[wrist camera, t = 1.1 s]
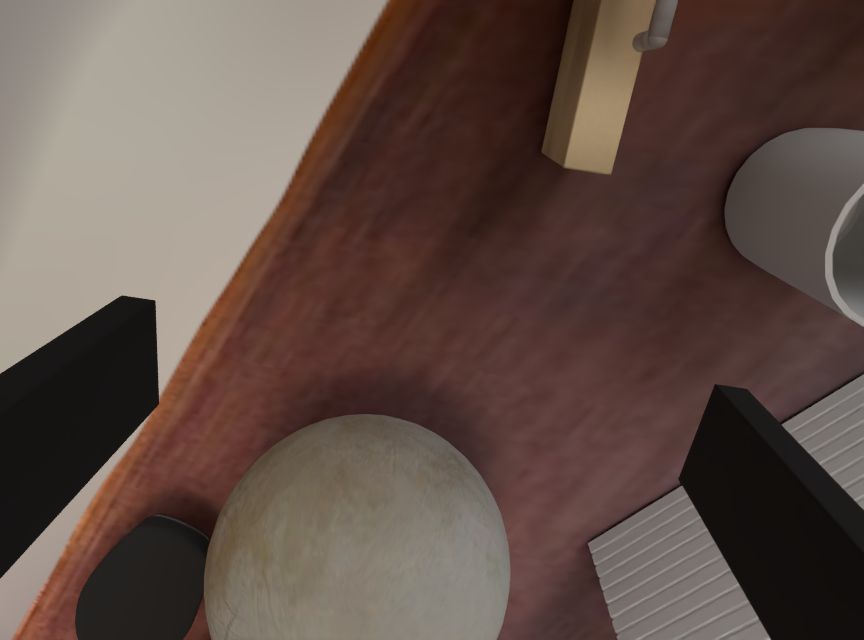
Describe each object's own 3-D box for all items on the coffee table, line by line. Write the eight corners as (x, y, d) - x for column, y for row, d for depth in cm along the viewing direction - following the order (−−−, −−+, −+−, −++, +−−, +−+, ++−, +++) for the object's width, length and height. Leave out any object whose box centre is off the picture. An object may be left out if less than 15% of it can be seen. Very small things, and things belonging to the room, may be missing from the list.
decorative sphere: (419, 596, 40) (403, 865, 26) (222, 501, 38) (88, 743, 24) (545, 441, 35) (609, 672, 21) (328, 320, 33) (239, 491, 19)
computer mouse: (121, 509, 33) (152, 469, 37) (52, 646, 37) (87, 597, 41) (232, 559, 35) (251, 516, 38) (155, 688, 38) (180, 637, 42)
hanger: (601, -136, 25) (708, -293, 14) (648, -128, 25) (785, -279, 15) (540, 152, 29) (589, 186, 19) (580, 159, 29) (649, 195, 19)
